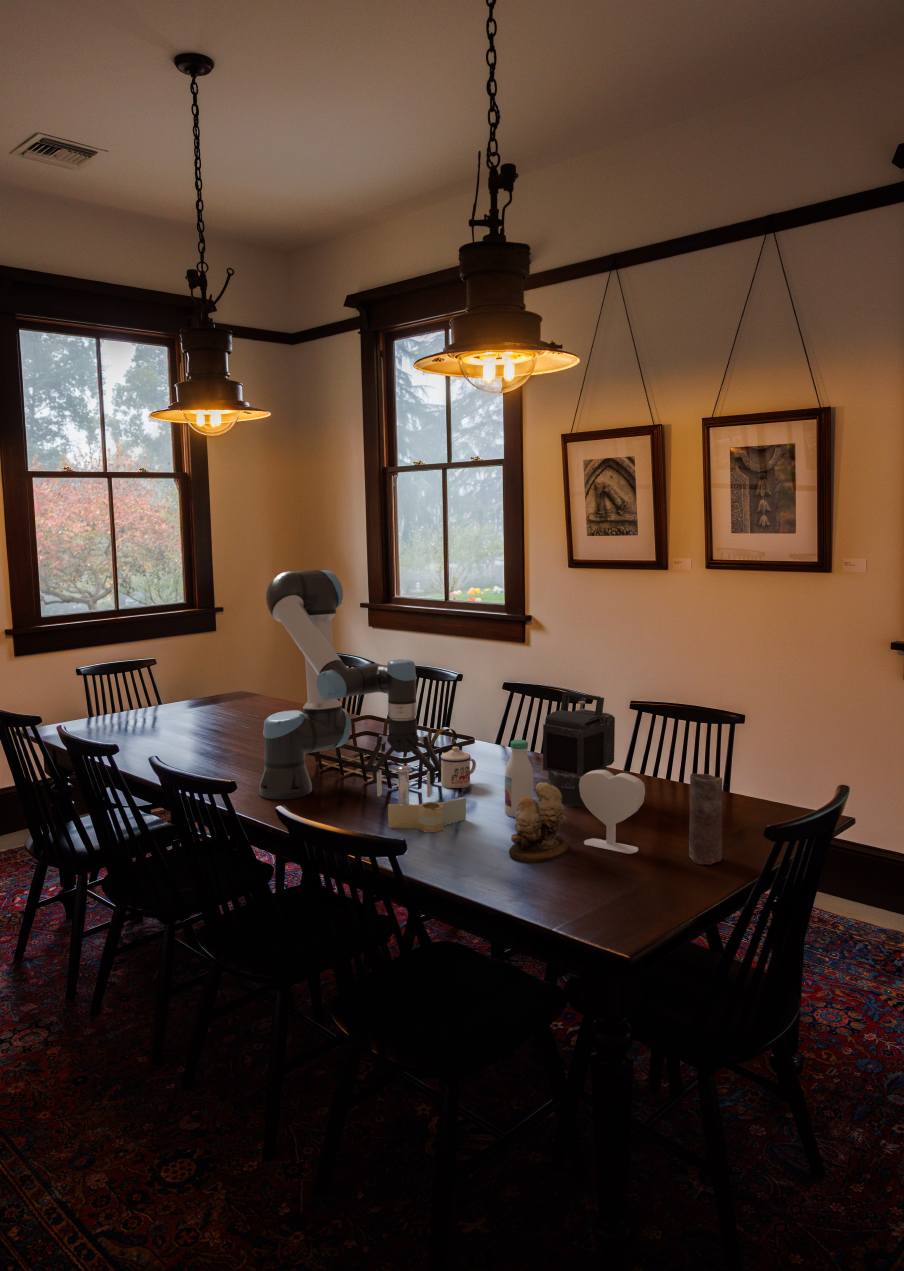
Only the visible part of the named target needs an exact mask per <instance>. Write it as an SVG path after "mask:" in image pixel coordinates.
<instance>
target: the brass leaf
mask: <svg viewBox="0 0 904 1271" xmlns="http://www.w3.org/2000/svg"><path fill="white" fill-rule="evenodd" d="M443 813H444V805H443V804H441V802H438V801H437V802H436V801H434V802H433V801H426V802H423V803H419V804H409V805H405V804H399V803H389V804H388V805H387V823H388V825H387V826H388V829H400V828H399V827H403V828H402V829H410V828H419V829H420V830H422V831H425V832H436V833H438V832H437V831H439V832H442V831H441V830H443V831H444V827H445V826H444V820H443V823H441V824H437V825H424V824H421V823H419V822H418V815H420V816H423V817H433V818H434V817H438V816H442V815H443ZM419 829H418V830H419ZM420 830H419V831H420ZM422 831H421V832H422ZM425 832H424V833H425Z"/></svg>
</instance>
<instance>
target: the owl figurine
mask: <svg viewBox="0 0 904 1271" xmlns="http://www.w3.org/2000/svg"><path fill="white" fill-rule="evenodd" d="M535 794H536V796H537V797H538V798H537V799H538V802H537V801H536V800H533V799H532V798H529V797H523V798H521V799H520V803H519V805H518V808H517V813H516V817H515V820H514V821H515V823H514V830H515V832H516V833H514V834H511V837H510V840H511V842H512V843H513V844H512V845H511V847H510V848H509V850H508V855H509V858H511V859H512V860H513V861H516V862H519V863H523V864H540V863H545V862H550V861H553V860H556V859H558V858H561V857H562V856H564V855H565V854H566V853H567V852H568V850H569V842H568V841H567V840H566V839H565V838H564V837H562V836H561V835H559V831H560V829H561V827H562V825H564V822H565V821H566V817H567V816H565V815H563V813H564V811H565V805H563V804H562V803H561V802H562V794H561V793H560V791H559V789H558V788H557V787H555V786H553V785H552V784H551V783H548V782H542V781H540V782H538V783H537V784H536V786H535Z"/></svg>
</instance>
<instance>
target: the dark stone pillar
mask: <svg viewBox="0 0 904 1271" xmlns="http://www.w3.org/2000/svg"><path fill="white" fill-rule="evenodd" d="M689 780H690V781H689V829H688V830H689V833H688V834H689V835H688V847H689V848H688V856H689V858H690V859H691V860H692V861H693V863H694V864H697V865H708V866H709V865H713V864H714V863H718V862H721V860H722V859H723V778H722V777H719V776H715V775H712V774H709V773H704V774H703V773H690V776H689Z"/></svg>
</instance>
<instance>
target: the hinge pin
mask: <svg viewBox="0 0 904 1271" xmlns="http://www.w3.org/2000/svg"><path fill="white" fill-rule="evenodd" d="M411 768H412V767H411V766H410V765H399V766H396V767H395V771H396V773H398V774H397V775H398V776H397V781H398V782H397V785H398V790H397V791H398V804H405V805H410V779H409V778H410V776H409V775H410V774H409V772H411V771H412V769H411Z"/></svg>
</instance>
